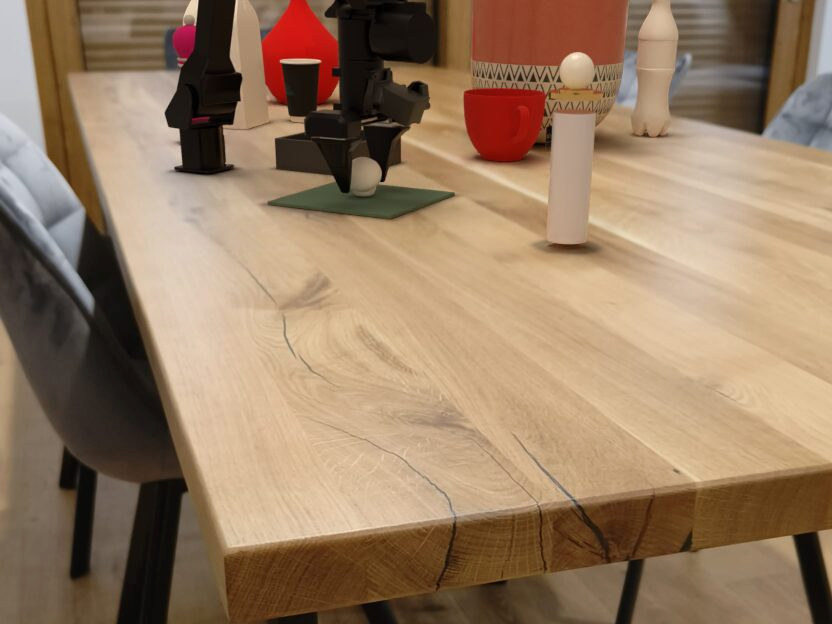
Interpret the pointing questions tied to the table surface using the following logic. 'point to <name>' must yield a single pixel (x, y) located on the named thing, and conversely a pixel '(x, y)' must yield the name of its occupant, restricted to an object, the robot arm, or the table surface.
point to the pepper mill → (185, 41)
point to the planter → (548, 48)
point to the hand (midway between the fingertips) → (363, 187)
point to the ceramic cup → (503, 121)
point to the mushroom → (365, 176)
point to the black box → (316, 153)
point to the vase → (299, 49)
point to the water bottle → (655, 70)
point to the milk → (245, 65)
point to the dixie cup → (301, 86)
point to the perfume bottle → (571, 154)
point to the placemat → (363, 200)
